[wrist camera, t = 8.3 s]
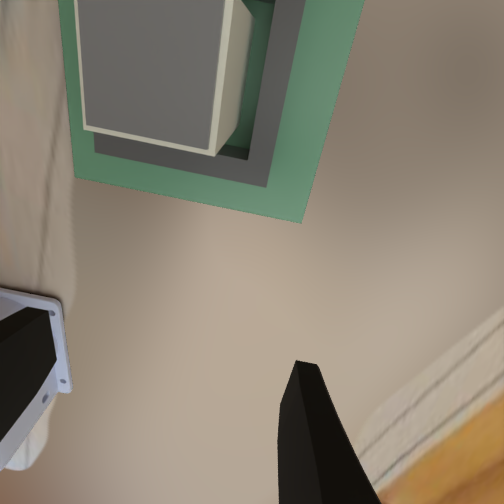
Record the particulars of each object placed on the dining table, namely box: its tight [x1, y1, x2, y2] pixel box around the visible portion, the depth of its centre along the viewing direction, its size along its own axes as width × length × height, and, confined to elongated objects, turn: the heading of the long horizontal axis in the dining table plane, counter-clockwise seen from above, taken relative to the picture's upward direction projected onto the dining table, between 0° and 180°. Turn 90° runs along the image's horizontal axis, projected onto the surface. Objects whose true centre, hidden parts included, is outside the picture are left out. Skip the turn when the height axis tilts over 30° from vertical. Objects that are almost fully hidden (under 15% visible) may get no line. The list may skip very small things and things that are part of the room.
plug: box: [74, 0, 255, 157], centre depth 11 cm, size 4×4×6 cm
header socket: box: [58, 0, 365, 223], centre depth 14 cm, size 12×12×3 cm
